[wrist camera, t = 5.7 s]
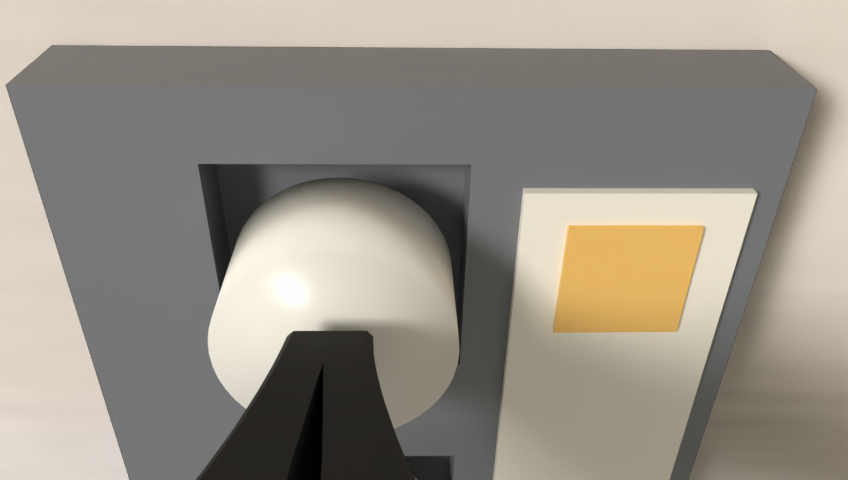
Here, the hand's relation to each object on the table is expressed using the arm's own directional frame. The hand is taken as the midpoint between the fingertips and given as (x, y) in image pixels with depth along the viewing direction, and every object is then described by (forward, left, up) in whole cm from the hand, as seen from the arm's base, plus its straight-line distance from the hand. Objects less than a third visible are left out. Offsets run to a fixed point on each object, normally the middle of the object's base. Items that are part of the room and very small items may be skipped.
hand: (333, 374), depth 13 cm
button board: (-7, -5, -5) cm, 10 cm away
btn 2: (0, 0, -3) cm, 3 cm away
